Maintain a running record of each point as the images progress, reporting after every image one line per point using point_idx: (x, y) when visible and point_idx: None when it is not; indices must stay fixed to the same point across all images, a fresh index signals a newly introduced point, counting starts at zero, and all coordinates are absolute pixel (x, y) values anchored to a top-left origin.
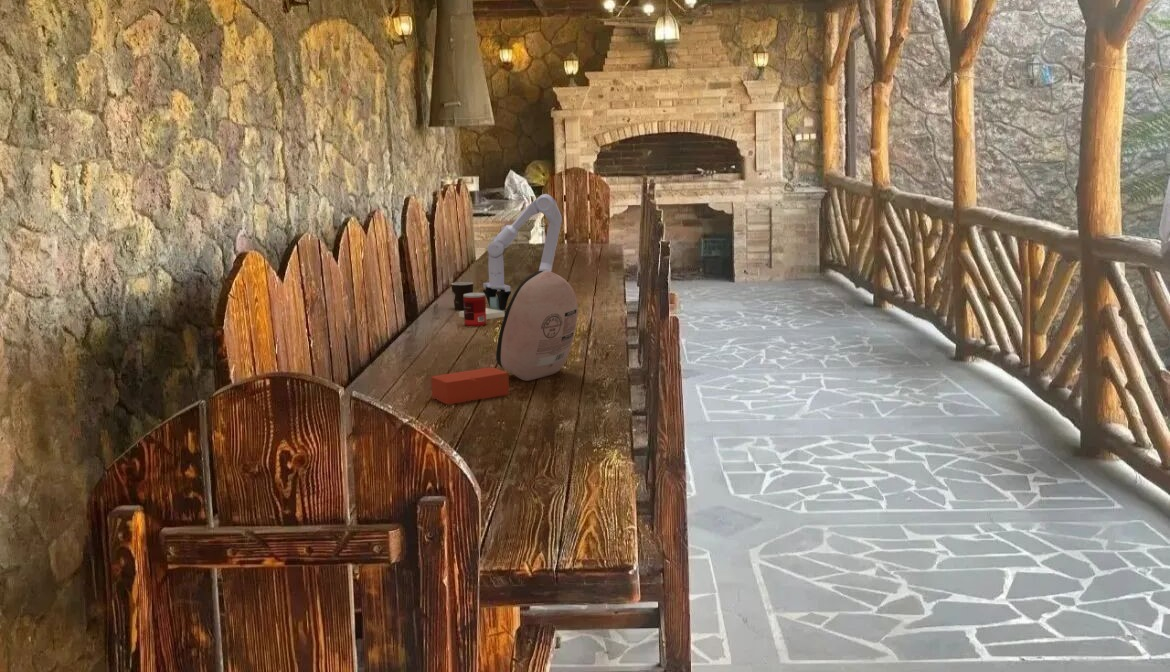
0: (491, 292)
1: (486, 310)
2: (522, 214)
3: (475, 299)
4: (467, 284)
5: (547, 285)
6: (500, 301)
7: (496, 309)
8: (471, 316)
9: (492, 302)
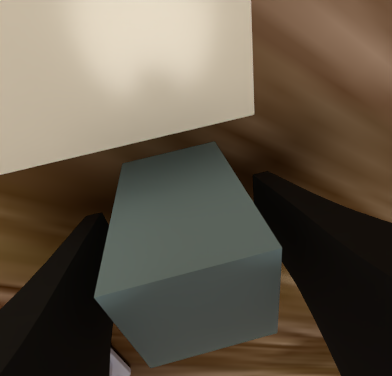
0: (372, 348)
1: (13, 18)
2: None
3: None
4: None
5: None
6: (20, 291)
7: (118, 187)
8: None
9: (193, 213)
